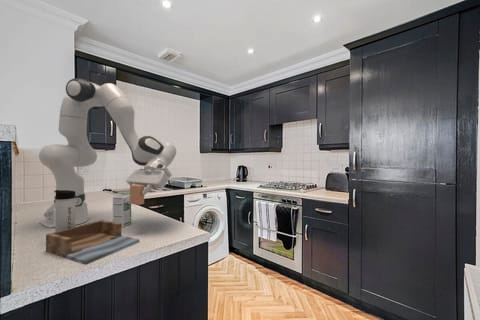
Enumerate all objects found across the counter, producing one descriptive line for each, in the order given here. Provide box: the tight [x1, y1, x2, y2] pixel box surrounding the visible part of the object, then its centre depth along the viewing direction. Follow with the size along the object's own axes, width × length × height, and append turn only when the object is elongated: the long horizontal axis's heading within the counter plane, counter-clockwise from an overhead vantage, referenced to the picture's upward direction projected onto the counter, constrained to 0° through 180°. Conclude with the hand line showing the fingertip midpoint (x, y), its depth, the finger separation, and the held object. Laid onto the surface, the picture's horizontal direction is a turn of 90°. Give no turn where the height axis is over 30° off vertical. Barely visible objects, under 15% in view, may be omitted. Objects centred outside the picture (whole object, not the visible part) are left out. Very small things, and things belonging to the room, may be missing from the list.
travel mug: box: [53, 189, 76, 232], centre depth 87 cm, size 6×7×20 cm
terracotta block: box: [129, 185, 145, 206], centre depth 94 cm, size 5×3×8 cm, turn 66°
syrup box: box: [112, 194, 132, 228], centre depth 107 cm, size 6×6×14 cm
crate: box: [45, 219, 140, 265], centre depth 81 cm, size 22×20×6 cm
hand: (136, 193), depth 94 cm, fingers closed on terracotta block, 5 cm apart
